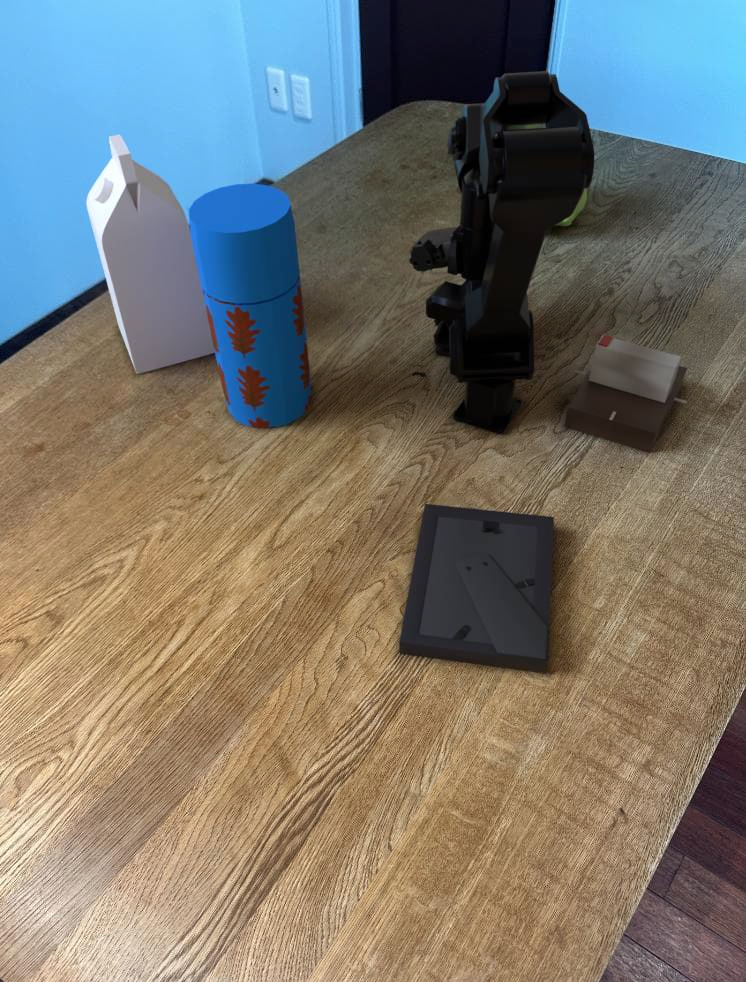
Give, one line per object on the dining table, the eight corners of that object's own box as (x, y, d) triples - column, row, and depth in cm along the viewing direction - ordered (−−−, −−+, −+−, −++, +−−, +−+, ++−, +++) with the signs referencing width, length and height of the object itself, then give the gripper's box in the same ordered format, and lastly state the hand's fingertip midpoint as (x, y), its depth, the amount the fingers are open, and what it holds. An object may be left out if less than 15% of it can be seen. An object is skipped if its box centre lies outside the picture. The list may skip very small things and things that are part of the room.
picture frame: (545, 673, 73) (551, 529, 85) (548, 660, 72) (554, 514, 83) (399, 653, 76) (424, 515, 87) (399, 640, 74) (424, 501, 85)
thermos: (300, 433, 97) (276, 236, 78) (215, 425, 99) (172, 231, 80) (320, 377, 104) (302, 184, 85) (240, 371, 106) (205, 180, 87)
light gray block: (670, 392, 93) (682, 354, 90) (664, 403, 92) (676, 365, 88) (594, 370, 97) (603, 333, 93) (588, 380, 96) (596, 343, 92)
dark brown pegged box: (663, 457, 91) (670, 436, 88) (550, 423, 96) (554, 402, 93) (694, 391, 98) (701, 369, 96) (588, 362, 103) (592, 341, 101)
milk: (220, 351, 109) (181, 154, 89) (136, 374, 106) (77, 177, 87) (197, 306, 116) (156, 115, 97) (118, 326, 114) (60, 135, 95)
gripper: (455, 173, 102) (449, 284, 114) (385, 242, 92) (387, 356, 103) (539, 189, 98) (524, 303, 110) (476, 264, 88) (467, 380, 99)
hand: (475, 334), depth 106 cm, fingers open, 9 cm apart
